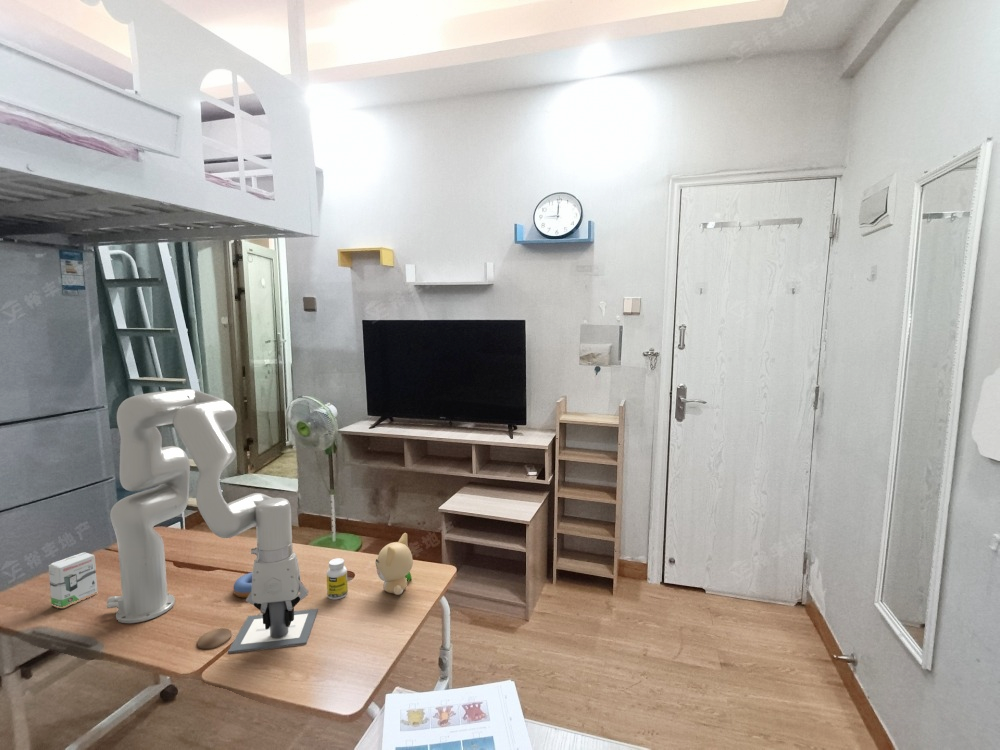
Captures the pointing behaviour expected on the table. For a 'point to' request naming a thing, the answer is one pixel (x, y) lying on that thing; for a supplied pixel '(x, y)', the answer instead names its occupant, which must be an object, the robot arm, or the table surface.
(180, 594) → the table surface
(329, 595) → the supplement bottle
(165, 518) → the robot arm
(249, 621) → the grey picture frame
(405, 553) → the kitten
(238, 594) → the doughnut
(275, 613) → the marker
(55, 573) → the ink box
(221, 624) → the table surface
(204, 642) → the coaster
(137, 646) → the table surface
